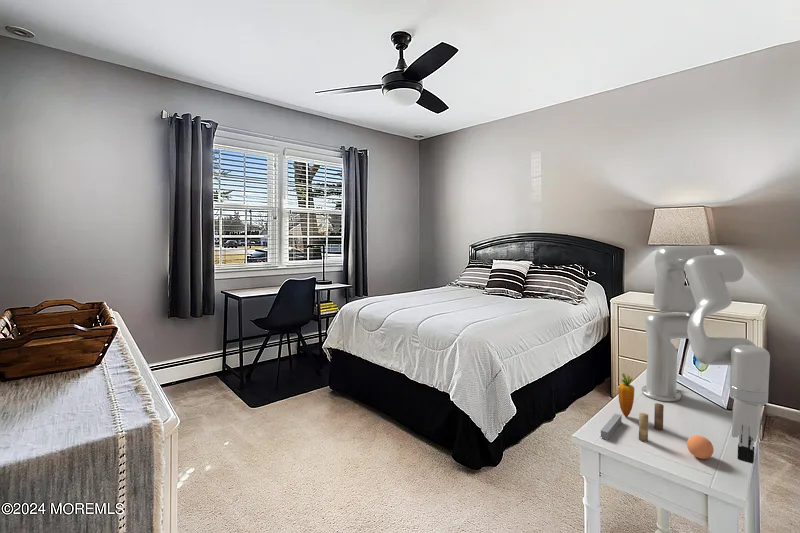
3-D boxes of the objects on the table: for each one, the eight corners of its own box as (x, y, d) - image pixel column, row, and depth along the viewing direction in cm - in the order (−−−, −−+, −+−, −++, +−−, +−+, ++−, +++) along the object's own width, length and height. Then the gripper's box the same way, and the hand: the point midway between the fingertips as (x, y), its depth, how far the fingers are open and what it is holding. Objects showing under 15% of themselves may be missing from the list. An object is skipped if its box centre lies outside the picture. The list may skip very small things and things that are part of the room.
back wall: (614, 420, 134) (615, 413, 134) (621, 422, 133) (621, 415, 133) (600, 437, 124) (600, 430, 124) (607, 440, 123) (607, 432, 123)
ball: (688, 448, 117) (689, 429, 116) (714, 456, 113) (715, 436, 112) (684, 457, 113) (685, 437, 112) (711, 466, 108) (712, 445, 108)
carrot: (636, 420, 134) (637, 377, 132) (620, 419, 135) (621, 377, 133) (631, 413, 138) (631, 372, 137) (615, 412, 139) (616, 371, 138)
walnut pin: (655, 425, 130) (655, 402, 129) (663, 428, 128) (664, 404, 127) (653, 428, 128) (653, 405, 127) (662, 431, 126) (662, 407, 125)
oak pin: (639, 436, 124) (640, 412, 123) (648, 439, 122) (649, 414, 122) (637, 439, 122) (638, 415, 121) (646, 442, 121) (647, 417, 120)
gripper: (732, 381, 111) (730, 443, 113) (726, 399, 101) (723, 467, 103) (769, 388, 106) (766, 453, 108) (766, 407, 96) (763, 479, 97)
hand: (745, 460), depth 105 cm, fingers closed
